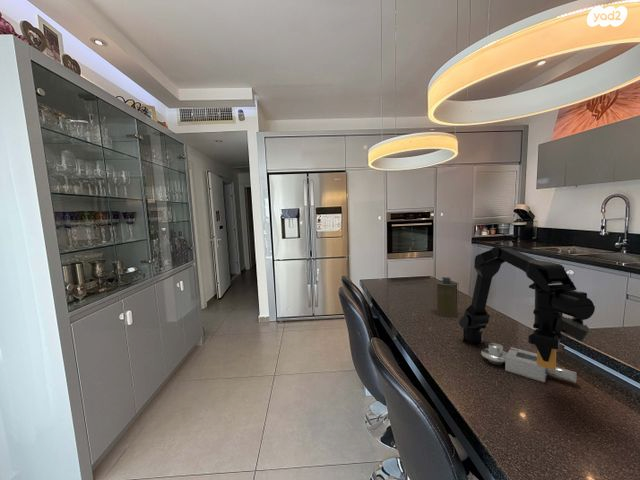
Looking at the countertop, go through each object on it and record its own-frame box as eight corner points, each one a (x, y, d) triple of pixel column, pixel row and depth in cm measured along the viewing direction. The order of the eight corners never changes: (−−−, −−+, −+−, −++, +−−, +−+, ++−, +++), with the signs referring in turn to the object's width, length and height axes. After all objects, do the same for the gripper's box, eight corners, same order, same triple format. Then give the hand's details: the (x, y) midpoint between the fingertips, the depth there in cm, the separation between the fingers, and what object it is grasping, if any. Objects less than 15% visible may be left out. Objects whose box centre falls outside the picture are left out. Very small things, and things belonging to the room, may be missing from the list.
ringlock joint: (478, 362, 98) (478, 346, 97) (485, 352, 104) (485, 337, 103) (575, 392, 79) (575, 372, 79) (576, 378, 86) (577, 360, 85)
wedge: (537, 365, 79) (537, 339, 78) (538, 362, 81) (538, 336, 80) (555, 370, 76) (555, 343, 76) (555, 366, 78) (556, 340, 77)
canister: (435, 315, 146) (434, 278, 144) (438, 309, 154) (438, 275, 153) (457, 318, 140) (457, 280, 138) (459, 312, 148) (459, 276, 147)
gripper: (586, 323, 65) (584, 385, 66) (587, 304, 78) (585, 356, 79) (528, 313, 73) (527, 368, 74) (538, 297, 86) (537, 344, 87)
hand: (546, 359), depth 78 cm, fingers closed on wedge, 2 cm apart
